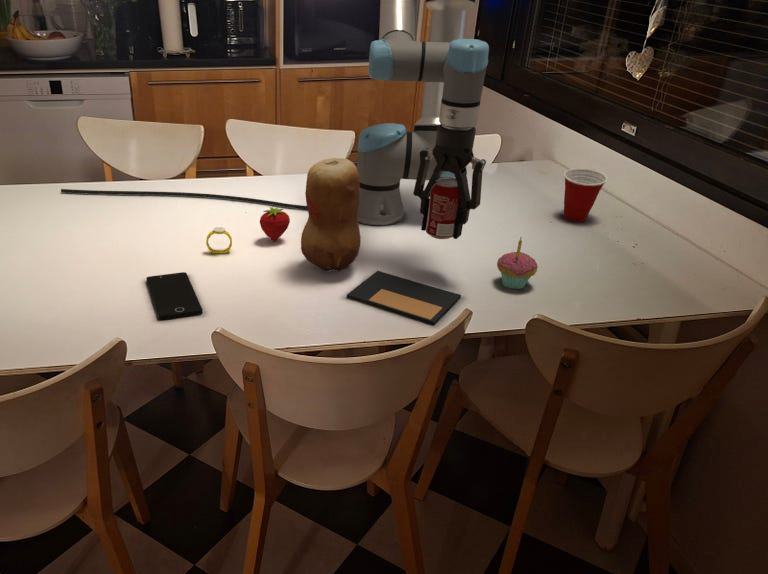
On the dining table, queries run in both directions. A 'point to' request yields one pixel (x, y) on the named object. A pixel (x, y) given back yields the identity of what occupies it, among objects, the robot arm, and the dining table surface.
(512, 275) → the cupcake
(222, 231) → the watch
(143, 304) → the dining table surface
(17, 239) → the dining table surface
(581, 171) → the plastic cup
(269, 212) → the strawberry
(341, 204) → the butternut squash
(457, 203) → the soda can
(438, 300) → the mat
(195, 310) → the cell phone
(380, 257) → the dining table surface
